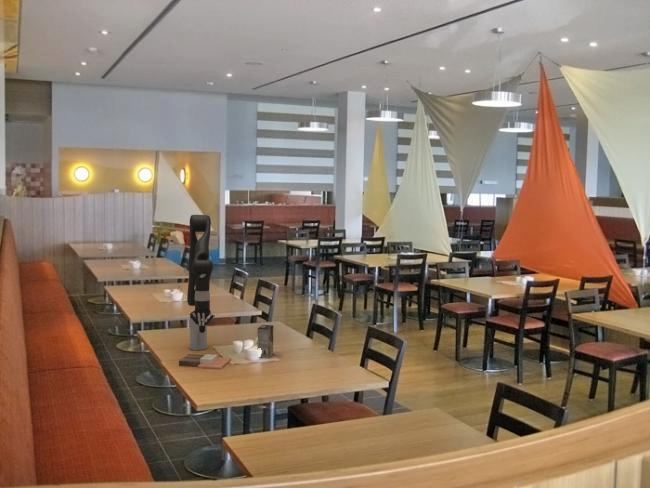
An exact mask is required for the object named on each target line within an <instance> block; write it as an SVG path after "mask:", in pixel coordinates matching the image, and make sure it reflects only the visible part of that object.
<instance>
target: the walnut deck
mask: <svg viewBox="0 0 650 488" xmlns="http://www.w3.org/2000/svg"><path fill="white" fill-rule="evenodd" d="M204 355H205V354H195V353H193V354H192V353H187V354H186V355H185V356H184V357H182V358H181V359H180V360H178V366H179V367H190V366H191V368H198V365H200V358H202V357H203V356H204Z"/></svg>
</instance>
